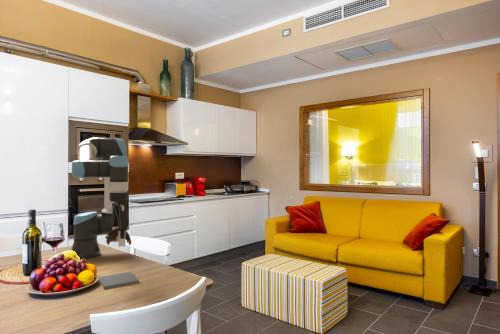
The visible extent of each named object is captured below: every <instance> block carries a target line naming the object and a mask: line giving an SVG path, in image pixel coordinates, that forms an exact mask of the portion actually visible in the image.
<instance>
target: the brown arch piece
mask: <svg viewBox="0 0 500 334" xmlns="http://www.w3.org/2000/svg"><path fill="white" fill-rule="evenodd" d="M118 229H119V228H116V229H114V230H112V231H111V232H109V233H108V234H107V235H105V236H104V237H105V239H106V242H105V243H106V244H107V245H108V246H109V245H110V243H113V241H117V236H118V231H117V230H118ZM125 241H126V243H127V244H128V245H129V246H131V245H132V239H131V236H130V234H129V233H128V231H127V230H125Z"/></svg>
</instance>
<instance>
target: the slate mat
mask: <svg viewBox="0 0 500 334" xmlns="http://www.w3.org/2000/svg"><path fill="white" fill-rule="evenodd" d="M98 278H99V281H98V282H99V284H100V285H101V286H102V288H103V289H104V290H107V289H113V288H118V287H123V286H128V285H134V284H139V283H140V282H141V281H140V279H139V278H138V277H137V276H136V275H135V274H134V273H133V272H132V271H127V272H121V273H115V274H107V275H103V276H97V279H98Z"/></svg>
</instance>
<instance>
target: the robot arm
mask: <svg viewBox="0 0 500 334" xmlns="http://www.w3.org/2000/svg"><path fill="white" fill-rule="evenodd" d="M127 153H128V152H127V147H126V142H125V139H123V138H120V137H119V138H118V137H90V138H88V139H85V140H83V141H81V142H80V143H79V144H78V145H77V146H76V155H77V160H73V161H71V162H72V163H71V176H72V177H73V178H79V179H84V178H85V179H87V178H88V179H91V178H104V197H103V198H104V203H103V204H104V207H103V208H102V209H101V211H100V212H101V213H98V212H97V211H87V212H83V213H82V212H81V213H78V214H76V215H75V216H74V217H73V223H72V224H73V243H72V245H71V249H70V251H71V250H73V251H75V252H76V253H77V255H78V256H79V257H80V258H81V259H90V258H94V257H98V256H99V255H101V248H100V245H99V242H98V236H103V235H104V236H108V235H107V234H108V233H109V232H111V231H112V230H114V229H116V228H119V229H118V230H117V231H118V236H117V241H112V243H116V242H117V243H118V244H117V246H118V247H119V248H120V247H125V246H126V240H125V230H126V231H127V230H128V225H127V224H128V223H127V206H126V205H125V204H124V202H127V201H129V192H128V191H129V158H128V154H127Z"/></svg>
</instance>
